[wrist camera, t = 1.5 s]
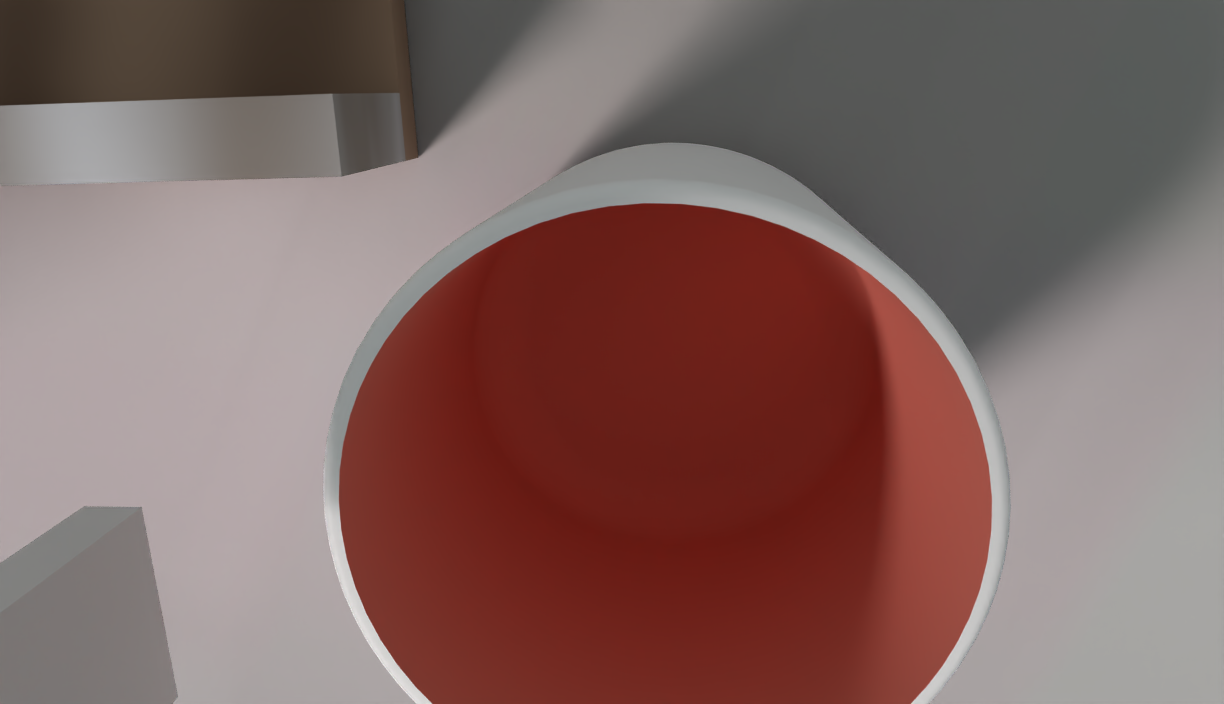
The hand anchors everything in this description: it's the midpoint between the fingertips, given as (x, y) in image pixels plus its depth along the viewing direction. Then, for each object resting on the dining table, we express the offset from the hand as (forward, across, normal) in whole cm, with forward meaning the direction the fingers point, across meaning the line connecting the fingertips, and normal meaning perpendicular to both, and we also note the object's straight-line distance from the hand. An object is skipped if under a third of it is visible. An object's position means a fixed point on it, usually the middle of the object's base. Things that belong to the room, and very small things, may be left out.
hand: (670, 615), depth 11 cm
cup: (+13, 0, 0) cm, 13 cm away
